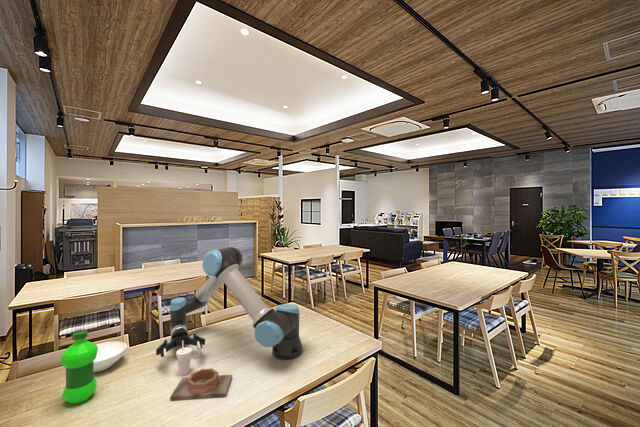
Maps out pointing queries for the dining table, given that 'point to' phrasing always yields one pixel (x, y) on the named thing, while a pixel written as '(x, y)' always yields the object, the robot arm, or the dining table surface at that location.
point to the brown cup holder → (202, 386)
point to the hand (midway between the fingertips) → (182, 354)
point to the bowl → (108, 354)
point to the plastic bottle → (79, 369)
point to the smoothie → (184, 359)
